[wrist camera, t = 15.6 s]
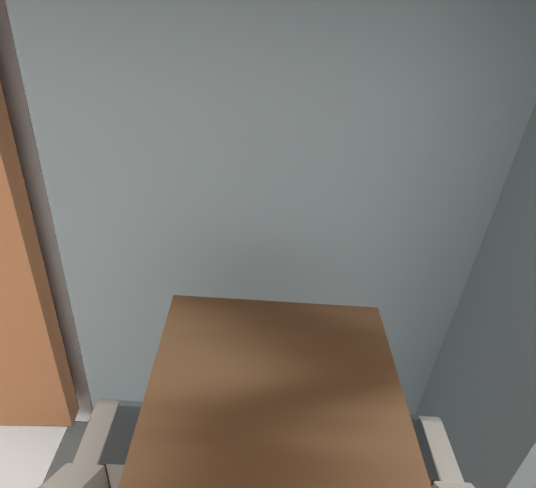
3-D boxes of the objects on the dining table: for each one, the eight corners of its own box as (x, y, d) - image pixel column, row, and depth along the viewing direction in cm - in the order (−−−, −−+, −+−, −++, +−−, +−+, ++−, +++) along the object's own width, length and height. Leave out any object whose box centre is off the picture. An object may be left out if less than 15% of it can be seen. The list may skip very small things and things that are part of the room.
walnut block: (377, 307, 11) (441, 520, 7) (344, 433, 14) (376, 642, 10) (173, 294, 11) (112, 504, 7) (179, 425, 14) (138, 633, 10)
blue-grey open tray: (628, -85, 12) (995, -118, 6) (417, 435, 24) (463, 602, 18) (-49, -144, 11) (-415, -243, 5) (83, 415, 23) (14, 578, 17)
